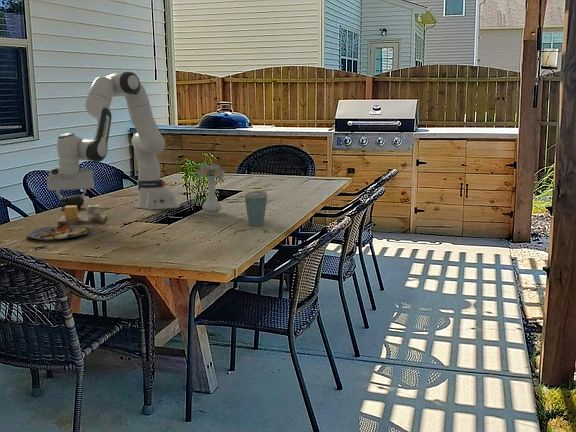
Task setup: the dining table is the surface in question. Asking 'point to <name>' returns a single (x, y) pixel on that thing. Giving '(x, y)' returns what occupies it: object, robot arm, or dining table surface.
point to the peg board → (86, 217)
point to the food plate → (58, 232)
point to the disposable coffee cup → (256, 207)
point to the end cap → (72, 201)
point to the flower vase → (211, 187)
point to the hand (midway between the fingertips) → (71, 199)
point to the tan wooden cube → (71, 212)
